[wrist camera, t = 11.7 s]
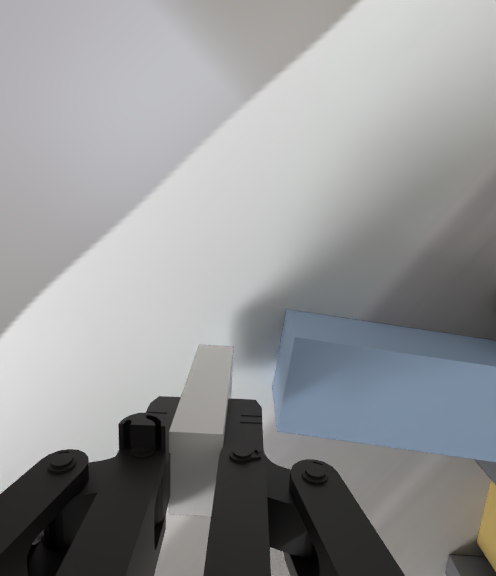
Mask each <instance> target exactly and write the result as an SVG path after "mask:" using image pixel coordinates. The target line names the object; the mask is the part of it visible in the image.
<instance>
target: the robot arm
mask: <svg viewBox="0 0 496 576" xmlns="http://www.w3.org/2000/svg"><path fill="white" fill-rule="evenodd" d="M232 368H233V346H215V345H199V346H198V349H197V352H196V355H195V358H194V361H193V363H192V366H191V369H190V372H189V375H188V378H187V381H186V384H185V387H184V390H183V393H182V395H181V397H162V396H159V397H158V398H157V399H155V400H154V401H153V402H151V403H150V405H149V407H148V409H147V411H146V413H137V414H134V415H130V416H128V417H126V418H124V419H123V420H122V421H121V422H120V423H119V451H118V453H117V455H116V457H113V458H111V459H107V460H103V461H96V462H90V463H88V456H87V455H86V454H85V453H84V452H82V451H79V450H72V449H68V450H61V451H57V452H55V453H52V454H49V455H48V456H46V457H45V458H43V459H41V460H40V461H39V462H38V463H37V464H35V465H34V466H33V467H32V468H31V469H30V470H28V471H27V472H26V473H25V474H24V475H22V476H21V477H20V478H19V479H18V480H17V481H15V482H14V483H13V484H12V485H11V486H9V487H8V488H7V489H6V490H5V491H4V492H2V493H1V494H0V576H154V573H155V569H156V565H157V561H158V557H159V553H160V549H161V545H162V541H163V537H164V533H165V529H166V510H167V507H168V503H169V514H171V515H192V516H211V522H210V530H209V537H208V545H207V553H206V561H205V568H204V576H271V569H270V547H272V548H275V549H278V550H280V551H283V552H284V557H285V561H286V564H287V567H288V570H289V572H290V575H291V576H405V575H404V573H403V572H402V570H401V569H400V567H399V566H398V564H397V563H396V561H395V560H394V558H393V557H392V555H391V554H390V552H389V550H388V549H387V547H386V546H385V544H384V543H383V541H382V540H381V538H380V537H379V535H378V534H377V532H376V530H375V529H374V527H373V526H372V524H371V523H370V521H369V520H368V518H367V517H366V515H365V514H364V512H363V511H362V509H361V507H360V506H359V504H358V503H357V501H356V500H355V498H354V497H353V495H352V494H351V492H350V491H349V489H348V488H347V486H346V484H345V483H344V481H343V480H342V478H341V477H340V475H339V474H338V472H337V471H336V470H335V469H334V468H333V467H332V466H330V465H328V464H327V463H325V462H322V461H318V460H307V459H306V460H302V461H299V462H297V463H296V464H294V465H293V466H292V469H291V470H290V469H286V468H283V467H280V466H278V465H276V464H274V463H272V462H271V461H270V460H269V459H268V458H267V457H266V456H265V454H264V450H263V430H262V408H261V406H260V405H259V404H258V402H257V401H256V400H246V399H231V393H232Z"/></svg>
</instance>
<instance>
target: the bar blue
mask: <svg viewBox="0 0 496 576" xmlns="http://www.w3.org/2000/svg"><path fill="white" fill-rule="evenodd" d="M272 390H273V399H274V409H275V418H276V427H277V431H278V432H285V433H292V434H299V435H306V436H313V437H320V438H327V439H334V440H341V441H349V442H356V443H363V444H370V445H377V446H384V447H391V448H398V449H405V450H412V451H420V452H427V453H434V454H441V455H448V456H455V457H462V458H469V459H476V460H483V461H490V462H496V341H495V340H488V339H482V338H475V337H468V336H462V335H455V334H448V333H441V332H435V331H428V330H421V329H415V328H408V327H401V326H395V325H388V324H381V323H375V322H368V321H361V320H354V319H348V318H341V317H334V316H328V315H321V314H314V313H308V312H301V311H294V310H287V309H286V314H285V320H284V325H283V331H282V336H281V342H280V347H279V353H278V358H277V364H276V369H275V375H274V380H273V386H272Z"/></svg>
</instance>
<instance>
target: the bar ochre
mask: <svg viewBox="0 0 496 576" xmlns="http://www.w3.org/2000/svg"><path fill="white" fill-rule="evenodd" d="M477 543H478V545H479V547H480V548H481V550H482V551H483V553H484V554H485V556H486V557H487V559H488V561H489V562H490V564H491V565H492V567H493V568H494V570H495V572H496V485H495V484H494V483H493V481H492V480H491V482H490V486H489V490H488V495H487V499H486V504H485V508H484V512H483V517H482V521H481V525H480V530H479V534H478V538H477Z"/></svg>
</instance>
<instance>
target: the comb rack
mask: <svg viewBox="0 0 496 576" xmlns="http://www.w3.org/2000/svg"><path fill="white" fill-rule="evenodd" d="M474 460H475V461H476V462H477V463H478V465H479V466H480V467H481V468H482V469H483V471H484V472H485V473H486V474H487V475H488V477H489V478H490V479H491V480H492V481H493V483H494V484H495V485H496V462H490V461H483V460H476V459H474ZM446 575H447V576H496V572H495V570H494V568H493V567H492V565H491V564H490V562H489V561H488V559H487V557H480V556H460V555H449V558H448V563H447V568H446Z"/></svg>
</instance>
